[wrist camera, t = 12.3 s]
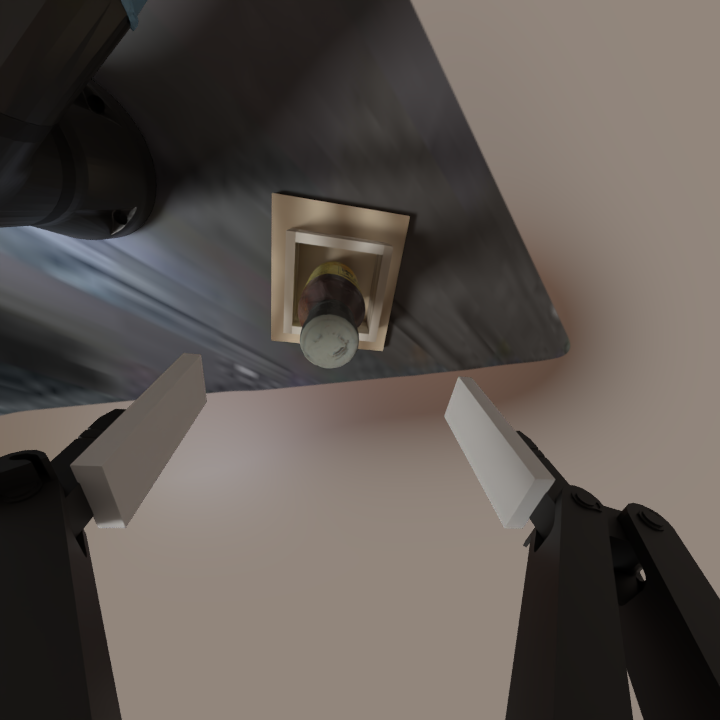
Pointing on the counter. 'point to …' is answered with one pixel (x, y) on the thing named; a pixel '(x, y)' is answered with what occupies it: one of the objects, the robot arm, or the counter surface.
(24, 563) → the robot arm
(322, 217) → the caddy board
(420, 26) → the counter surface
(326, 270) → the sauce bottle
